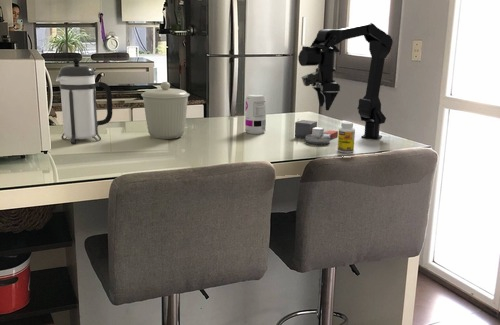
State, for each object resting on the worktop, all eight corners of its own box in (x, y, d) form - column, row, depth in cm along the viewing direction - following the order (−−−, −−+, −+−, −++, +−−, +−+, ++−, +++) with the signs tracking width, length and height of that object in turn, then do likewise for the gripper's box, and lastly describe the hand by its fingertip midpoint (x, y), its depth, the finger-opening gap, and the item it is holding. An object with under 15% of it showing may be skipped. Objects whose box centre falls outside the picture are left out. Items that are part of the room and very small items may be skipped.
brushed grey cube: (301, 134, 218) (302, 119, 217) (316, 136, 215) (317, 121, 213) (294, 137, 213) (295, 122, 211) (309, 139, 210) (310, 124, 208)
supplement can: (243, 133, 218) (243, 96, 215) (248, 129, 226) (248, 93, 223) (262, 134, 217) (263, 97, 213) (267, 131, 224) (268, 94, 221)
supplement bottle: (335, 152, 190) (336, 123, 187) (340, 149, 194) (342, 120, 192) (350, 154, 187) (352, 124, 184) (355, 150, 192) (357, 122, 189)
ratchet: (322, 134, 220) (323, 120, 218) (344, 136, 215) (344, 123, 214) (301, 143, 202) (301, 128, 201) (323, 146, 198) (324, 131, 197)
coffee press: (93, 145, 194) (88, 59, 186) (52, 143, 197) (45, 58, 189) (114, 136, 210) (110, 56, 203) (76, 133, 213) (71, 55, 206)
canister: (132, 138, 207) (130, 82, 201) (161, 130, 222) (160, 78, 217) (171, 143, 199) (170, 85, 193) (199, 135, 214) (198, 81, 209)
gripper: (298, 63, 205) (297, 104, 209) (309, 67, 187) (308, 112, 191) (327, 63, 206) (325, 104, 210) (341, 67, 188) (339, 112, 192)
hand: (324, 108), depth 201 cm, fingers open, 9 cm apart
